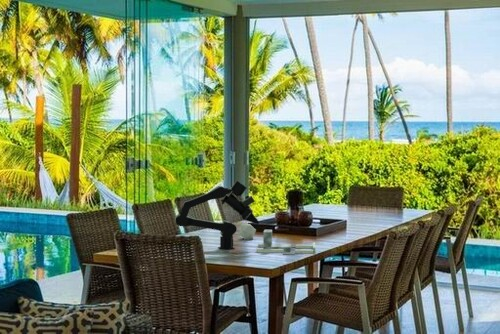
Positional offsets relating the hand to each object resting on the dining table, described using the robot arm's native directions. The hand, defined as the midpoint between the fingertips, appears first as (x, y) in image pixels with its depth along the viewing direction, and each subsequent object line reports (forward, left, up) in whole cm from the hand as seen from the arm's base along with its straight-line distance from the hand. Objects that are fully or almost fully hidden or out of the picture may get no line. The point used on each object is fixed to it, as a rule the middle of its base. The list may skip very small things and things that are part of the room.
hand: (257, 222), depth 457 cm
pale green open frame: (+8, -13, -14) cm, 21 cm away
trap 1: (0, -22, -14) cm, 26 cm away
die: (+22, +29, -14) cm, 39 cm away
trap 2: (+18, -7, -14) cm, 24 cm away
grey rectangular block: (+5, -10, -14) cm, 18 cm away
